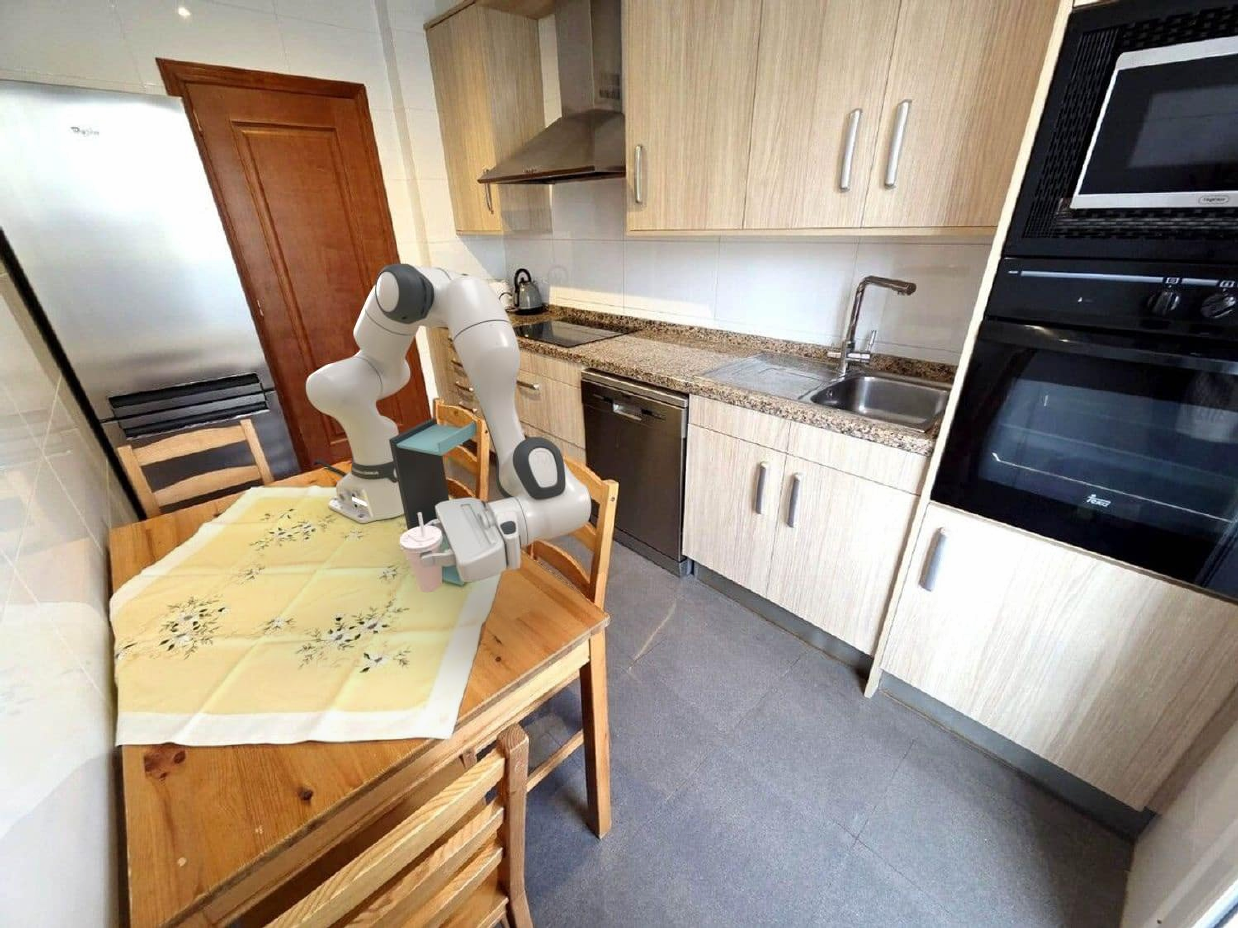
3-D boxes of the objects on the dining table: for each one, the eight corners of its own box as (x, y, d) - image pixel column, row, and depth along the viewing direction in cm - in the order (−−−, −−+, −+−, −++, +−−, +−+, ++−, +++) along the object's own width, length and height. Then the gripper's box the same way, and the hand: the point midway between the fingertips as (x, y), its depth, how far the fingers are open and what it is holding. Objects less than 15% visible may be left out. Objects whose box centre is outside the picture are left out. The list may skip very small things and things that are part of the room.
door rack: (416, 574, 105) (387, 434, 91) (452, 543, 116) (431, 413, 101) (460, 587, 102) (437, 443, 88) (493, 554, 112) (477, 420, 98)
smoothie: (437, 600, 80) (423, 526, 74) (401, 594, 81) (384, 521, 75) (457, 575, 85) (445, 504, 79) (423, 570, 87) (409, 500, 80)
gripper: (483, 483, 92) (403, 501, 86) (520, 541, 76) (424, 567, 70) (487, 512, 95) (410, 531, 89) (523, 574, 79) (431, 602, 73)
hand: (416, 548), depth 79 cm, fingers closed on smoothie, 6 cm apart
